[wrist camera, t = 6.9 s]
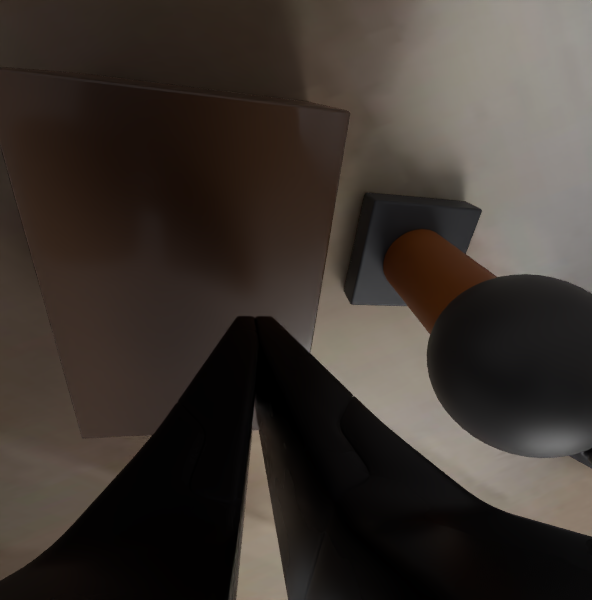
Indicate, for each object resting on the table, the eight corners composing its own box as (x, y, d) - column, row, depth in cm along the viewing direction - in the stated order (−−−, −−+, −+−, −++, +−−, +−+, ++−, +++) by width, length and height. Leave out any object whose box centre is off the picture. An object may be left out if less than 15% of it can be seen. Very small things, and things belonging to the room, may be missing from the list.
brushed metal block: (309, 101, 12) (351, 111, 8) (281, 342, 17) (297, 429, 13) (78, 72, 11) (-25, 64, 6) (122, 342, 16) (81, 439, 11)
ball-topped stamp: (412, 185, 16) (696, 266, 10) (387, 274, 18) (611, 378, 13) (273, 203, 11) (697, 384, 5) (262, 324, 13) (552, 542, 7)
